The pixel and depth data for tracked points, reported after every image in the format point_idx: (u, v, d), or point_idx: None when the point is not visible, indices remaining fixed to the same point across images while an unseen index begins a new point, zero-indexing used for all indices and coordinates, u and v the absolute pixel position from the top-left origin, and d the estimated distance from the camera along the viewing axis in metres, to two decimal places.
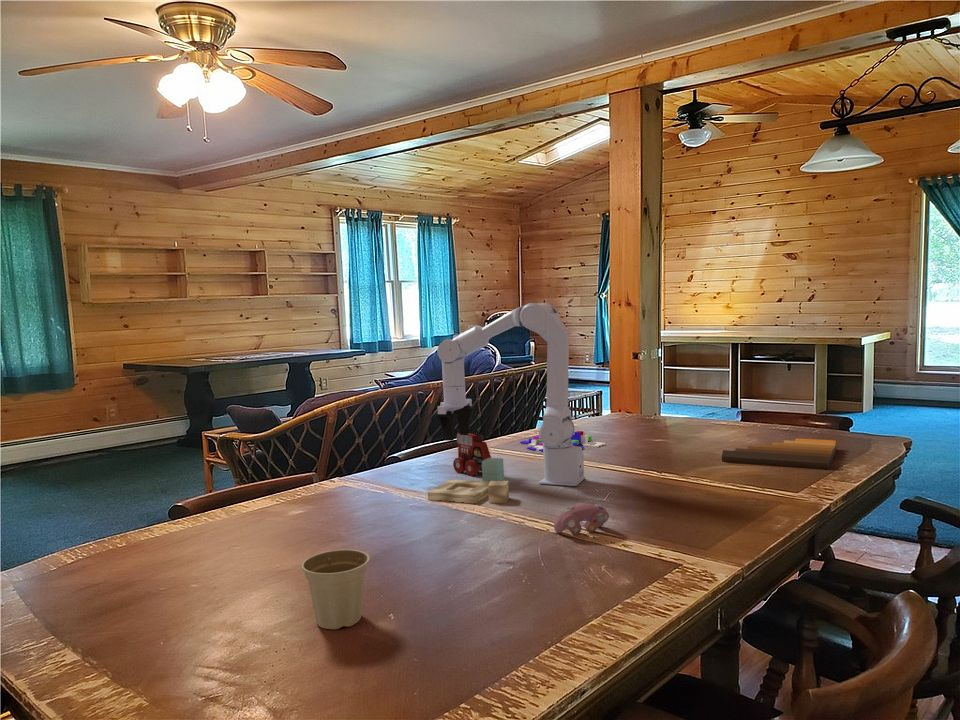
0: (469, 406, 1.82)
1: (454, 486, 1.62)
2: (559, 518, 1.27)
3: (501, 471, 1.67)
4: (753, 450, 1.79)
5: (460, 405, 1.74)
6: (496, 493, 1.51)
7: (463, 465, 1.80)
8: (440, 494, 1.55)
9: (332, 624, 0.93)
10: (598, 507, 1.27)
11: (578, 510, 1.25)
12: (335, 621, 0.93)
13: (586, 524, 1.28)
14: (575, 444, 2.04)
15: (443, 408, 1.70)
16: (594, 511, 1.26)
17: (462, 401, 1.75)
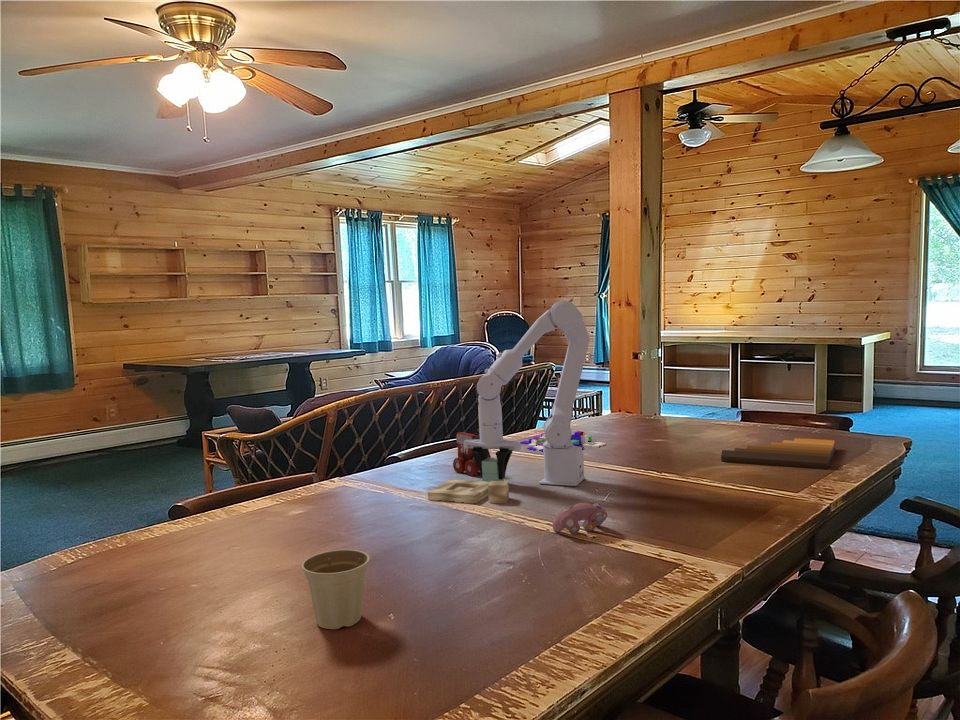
0: None
1: (454, 486, 1.62)
2: (558, 517, 1.27)
3: None
4: (752, 450, 1.79)
5: (480, 444, 1.65)
6: (496, 493, 1.51)
7: (463, 465, 1.79)
8: (440, 494, 1.55)
9: (332, 624, 0.93)
10: (596, 506, 1.27)
11: (577, 509, 1.26)
12: (335, 621, 0.93)
13: (584, 523, 1.28)
14: (575, 444, 2.04)
15: None
16: (592, 510, 1.27)
17: (483, 441, 1.65)
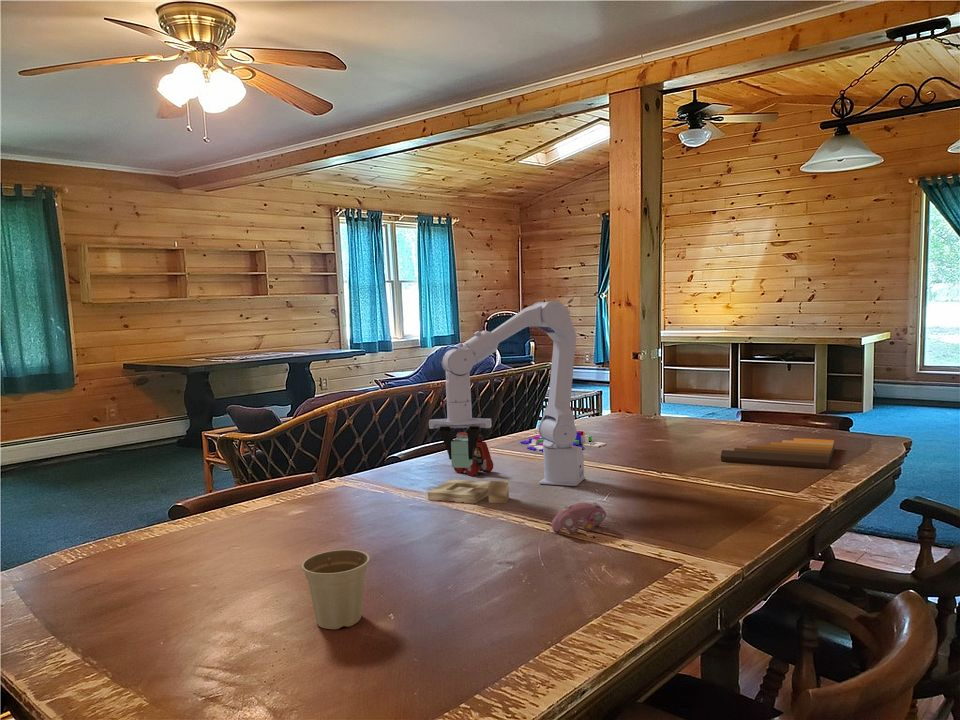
0: None
1: (454, 486, 1.62)
2: (557, 517, 1.27)
3: None
4: (752, 450, 1.79)
5: (449, 423, 1.56)
6: (496, 493, 1.51)
7: None
8: (440, 494, 1.55)
9: (332, 624, 0.93)
10: (595, 506, 1.28)
11: (576, 509, 1.26)
12: (335, 621, 0.93)
13: (583, 523, 1.29)
14: (575, 444, 2.04)
15: (429, 422, 1.59)
16: (591, 510, 1.27)
17: (453, 419, 1.56)
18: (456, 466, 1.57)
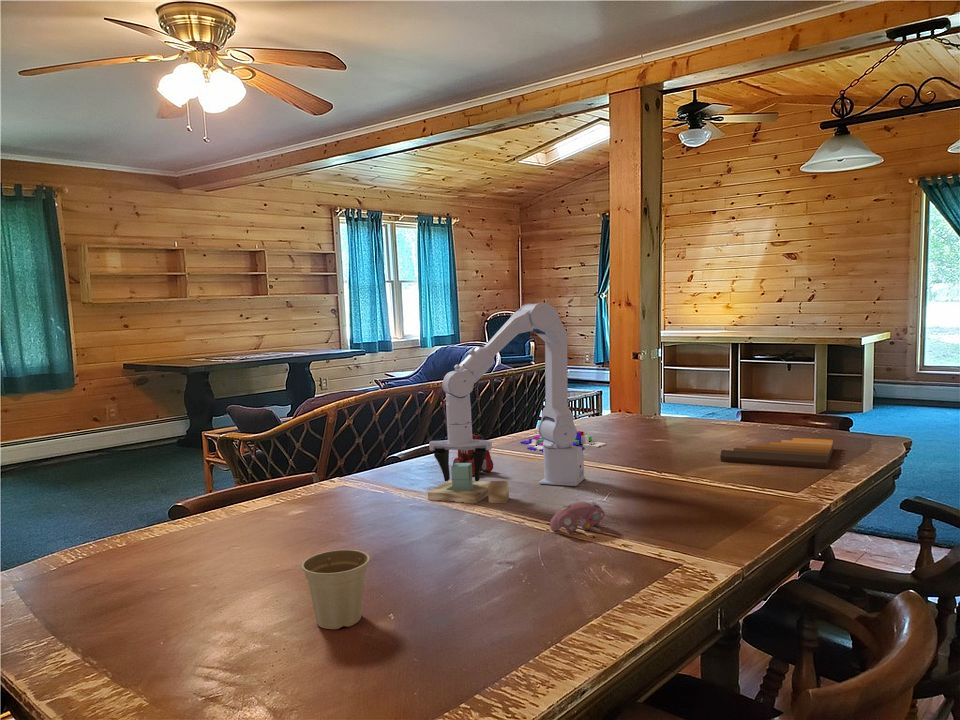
0: (485, 450, 1.56)
1: None
2: (555, 516, 1.28)
3: (471, 476, 1.59)
4: (751, 450, 1.79)
5: (450, 445, 1.56)
6: (496, 493, 1.51)
7: None
8: (440, 494, 1.55)
9: (332, 624, 0.93)
10: (594, 505, 1.28)
11: (574, 508, 1.27)
12: (335, 621, 0.93)
13: (582, 522, 1.29)
14: (575, 444, 2.04)
15: None
16: (590, 509, 1.28)
17: (454, 441, 1.56)
18: None
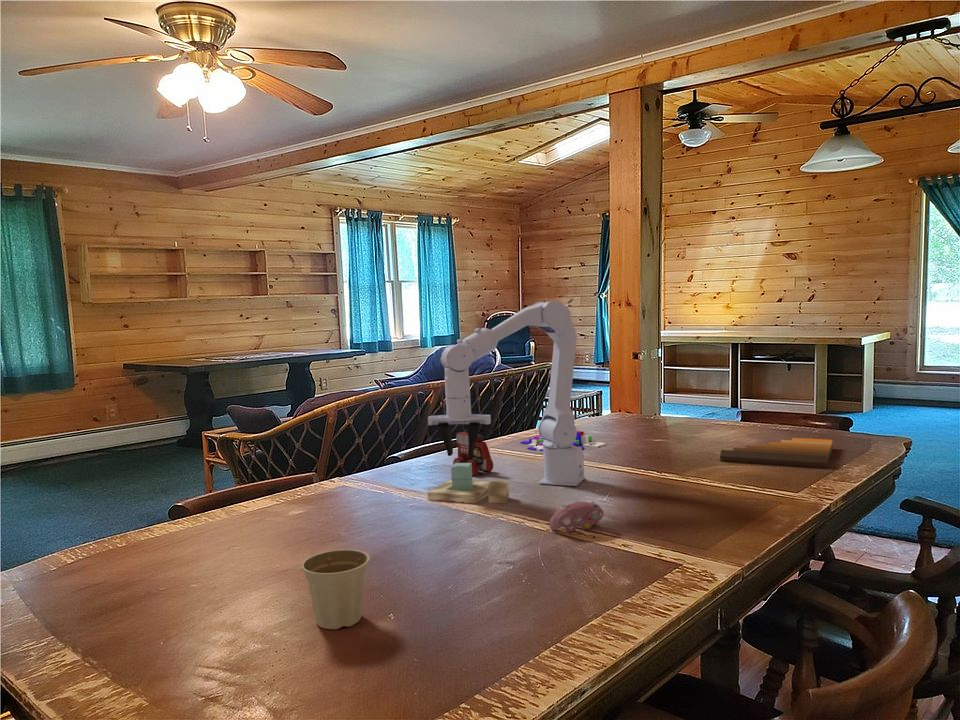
0: None
1: None
2: (554, 516, 1.28)
3: (471, 476, 1.59)
4: (751, 450, 1.79)
5: (448, 419, 1.56)
6: (496, 493, 1.51)
7: None
8: (440, 494, 1.55)
9: (332, 624, 0.93)
10: (593, 505, 1.28)
11: (574, 508, 1.27)
12: (335, 621, 0.93)
13: (581, 522, 1.29)
14: (575, 444, 2.04)
15: (428, 418, 1.58)
16: (589, 509, 1.28)
17: (452, 415, 1.55)
18: None
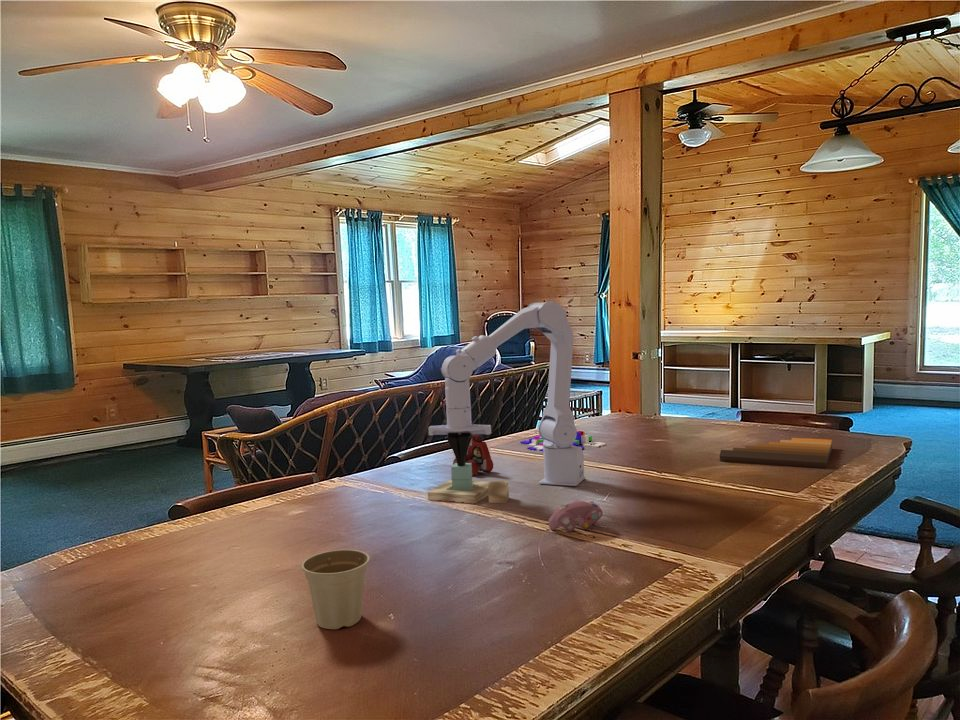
0: None
1: None
2: (553, 515, 1.28)
3: (471, 476, 1.59)
4: (751, 449, 1.80)
5: (449, 430, 1.56)
6: (496, 493, 1.51)
7: None
8: (440, 494, 1.55)
9: (332, 624, 0.93)
10: (592, 504, 1.29)
11: (572, 507, 1.27)
12: (335, 621, 0.93)
13: (580, 521, 1.30)
14: (575, 444, 2.04)
15: None
16: (588, 508, 1.28)
17: (453, 425, 1.55)
18: None
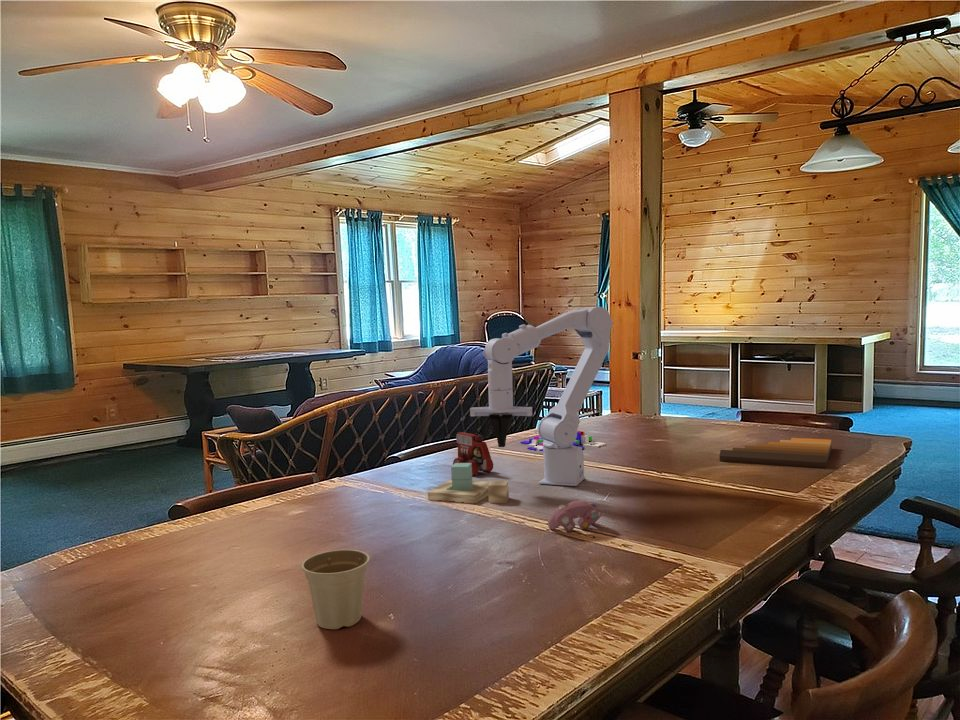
0: None
1: None
2: (553, 515, 1.28)
3: (471, 476, 1.59)
4: (750, 449, 1.80)
5: (491, 411, 1.58)
6: (496, 493, 1.51)
7: None
8: (440, 494, 1.55)
9: (332, 624, 0.93)
10: (591, 504, 1.29)
11: (572, 507, 1.27)
12: (335, 621, 0.93)
13: (579, 521, 1.30)
14: (575, 444, 2.04)
15: (470, 410, 1.61)
16: (587, 508, 1.28)
17: (495, 407, 1.58)
18: None
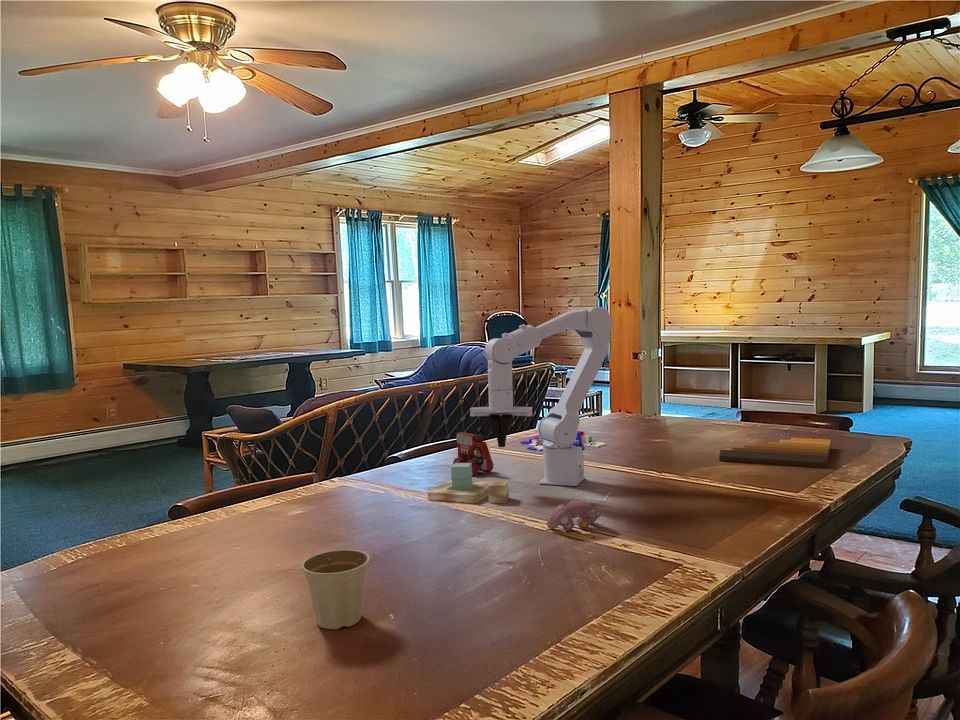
0: None
1: None
2: (552, 515, 1.29)
3: (471, 476, 1.59)
4: (750, 449, 1.80)
5: (491, 411, 1.58)
6: (495, 493, 1.51)
7: None
8: (440, 494, 1.55)
9: (332, 624, 0.93)
10: (590, 504, 1.29)
11: (571, 507, 1.28)
12: (335, 621, 0.93)
13: (578, 520, 1.30)
14: (575, 444, 2.04)
15: (470, 410, 1.61)
16: (586, 507, 1.29)
17: (495, 407, 1.58)
18: None
